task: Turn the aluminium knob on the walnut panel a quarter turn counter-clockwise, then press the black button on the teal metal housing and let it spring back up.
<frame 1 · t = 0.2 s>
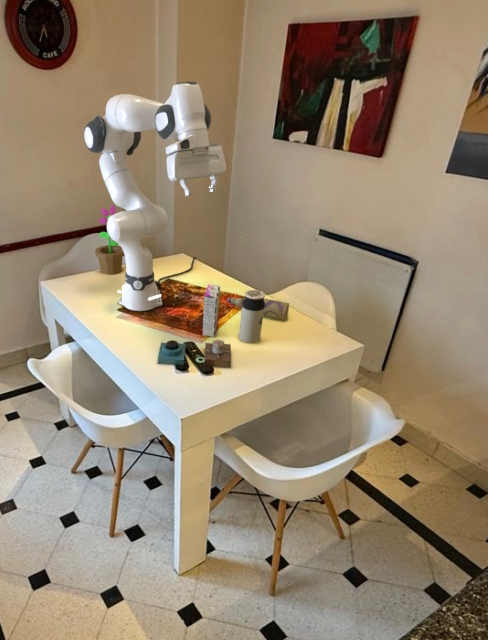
hand: (201, 193, 142), 52 cm above the table, tool tilted 20°, fingers open, 8 cm apart
button box: (172, 356, 163), on the table
dial panel: (217, 358, 162), on the table
dial knob: (218, 346, 159), point 5 cm above the table, hinge at 0.0°
travel mug: (249, 338, 174), on the table
candy bar box: (209, 330, 179), on the table
decorative bottle: (258, 312, 192), on the table
flowerpot: (111, 270, 228), on the table
start button: (172, 345, 160), point 4 cm above the table, slide at 0.1 cm
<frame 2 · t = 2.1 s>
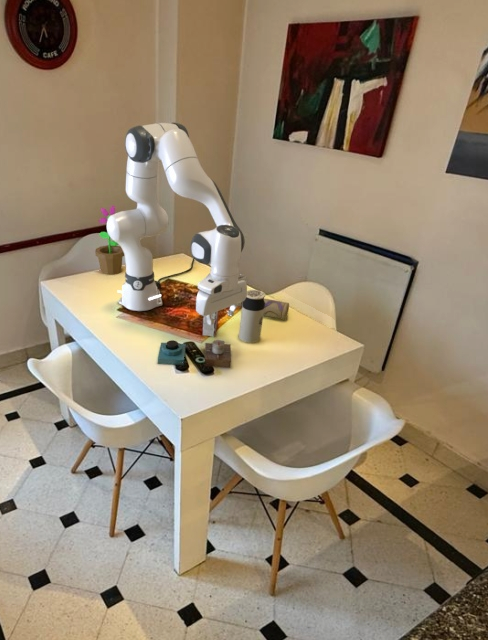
hand: (220, 319, 153), 15 cm above the table, tool pointing down, fingers open, 8 cm apart
nothing on the table moved.
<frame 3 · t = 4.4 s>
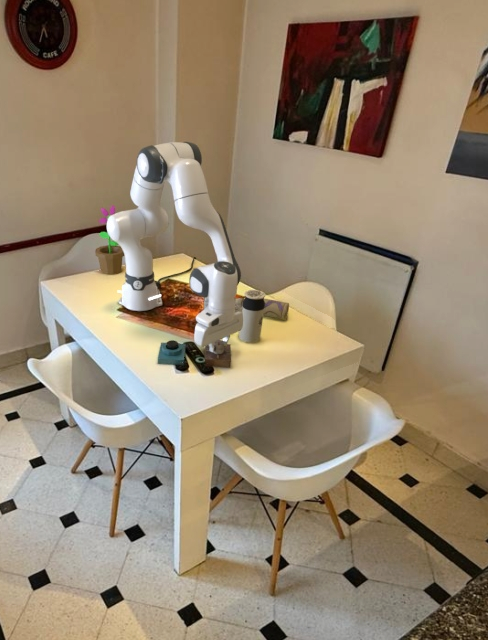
hand: (218, 348, 159), 4 cm above the table, tool pointing down, fingers closed on dial knob, 4 cm apart
dial knob: (218, 346, 159), point 5 cm above the table, hinge at 0.0°, touching gripper
everything else where it was.
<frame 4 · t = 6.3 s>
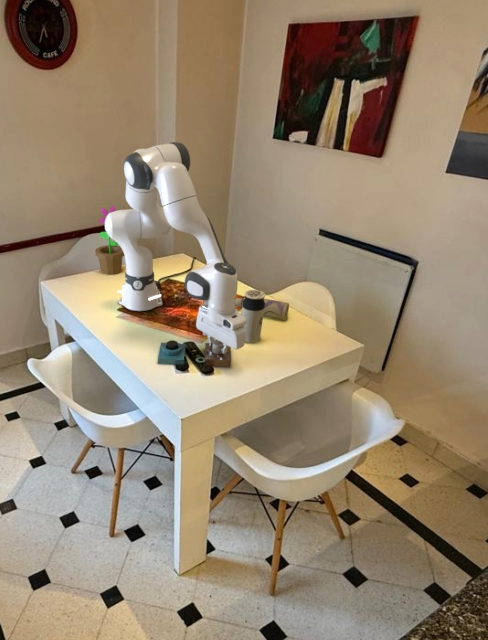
hand: (218, 349, 160), 4 cm above the table, tool pointing down, fingers closed on dial knob, 4 cm apart
dial knob: (218, 346, 159), point 5 cm above the table, hinge at 92.6°, touching gripper
everything else where it was.
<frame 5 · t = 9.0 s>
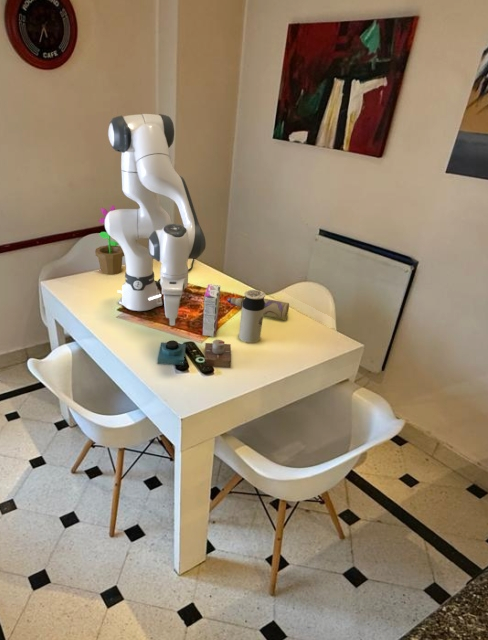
hand: (173, 318, 154), 15 cm above the table, tool pointing down, fingers open, 8 cm apart
dial knob: (218, 346, 159), point 5 cm above the table, hinge at 92.5°
everything else where it was.
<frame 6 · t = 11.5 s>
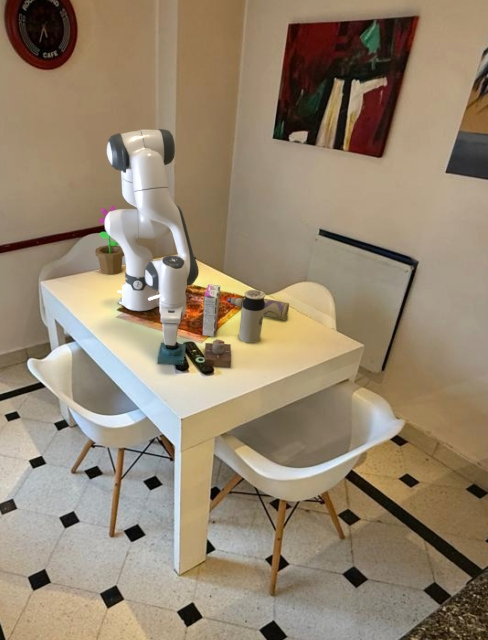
hand: (172, 343, 160), 5 cm above the table, tool pointing down, fingers closed, pressing on start button
start button: (172, 345, 160), point 4 cm above the table, slide at 0.0 cm, touching gripper
everything else where it was.
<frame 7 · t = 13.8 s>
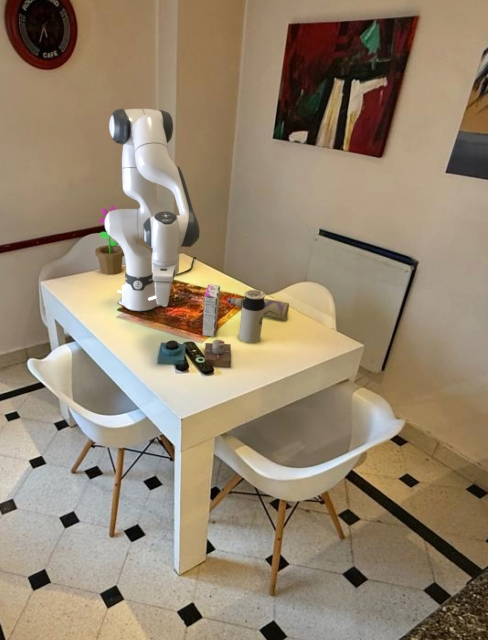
hand: (165, 304, 157), 17 cm above the table, tool pointing down, fingers closed
start button: (172, 345, 160), point 4 cm above the table, slide at 0.1 cm
everything else where it was.
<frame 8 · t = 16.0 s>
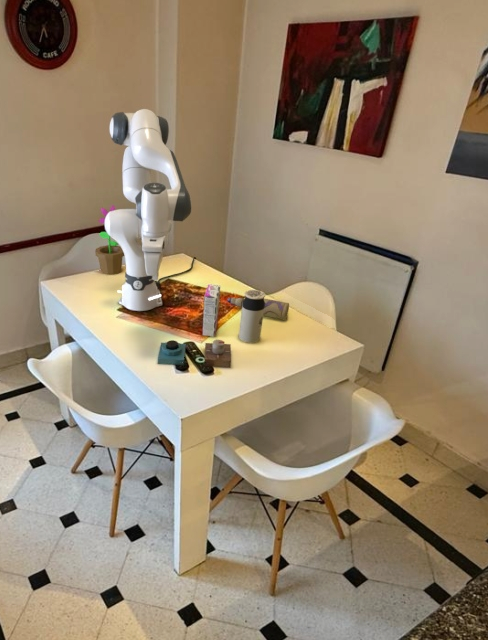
hand: (155, 278, 158), 24 cm above the table, tool pointing down, fingers closed
nothing on the table moved.
at the end: dial knob at +92° (first picture: +0°); start button pushed in 1.0 cm at the most during the clip, back to where it started at the end; start button slide at 0.1 cm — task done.
